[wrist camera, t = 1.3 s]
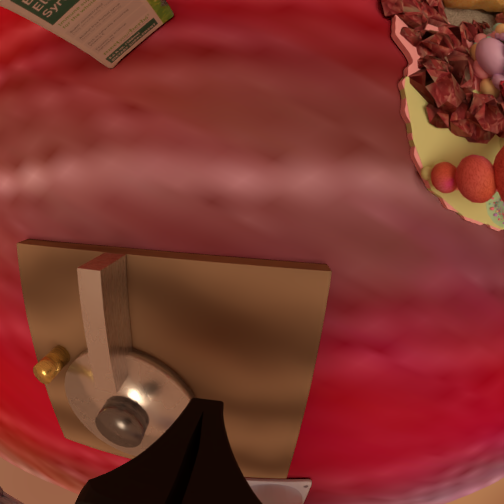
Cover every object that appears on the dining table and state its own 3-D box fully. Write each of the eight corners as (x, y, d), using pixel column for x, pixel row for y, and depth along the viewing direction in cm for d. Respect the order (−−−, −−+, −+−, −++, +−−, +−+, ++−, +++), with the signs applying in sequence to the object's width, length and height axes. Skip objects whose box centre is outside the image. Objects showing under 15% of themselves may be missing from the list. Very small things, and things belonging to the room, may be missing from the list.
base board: (285, 466, 24) (286, 478, 23) (71, 429, 24) (65, 437, 23) (326, 264, 19) (331, 271, 18) (28, 239, 19) (16, 243, 18)
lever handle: (202, 458, 22) (196, 488, 19) (87, 432, 22) (73, 456, 19) (201, 261, 18) (188, 280, 14) (48, 246, 18) (17, 259, 15)
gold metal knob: (72, 364, 20) (52, 386, 17) (56, 360, 20) (36, 380, 17) (68, 347, 20) (46, 368, 17) (52, 343, 20) (30, 363, 17)
